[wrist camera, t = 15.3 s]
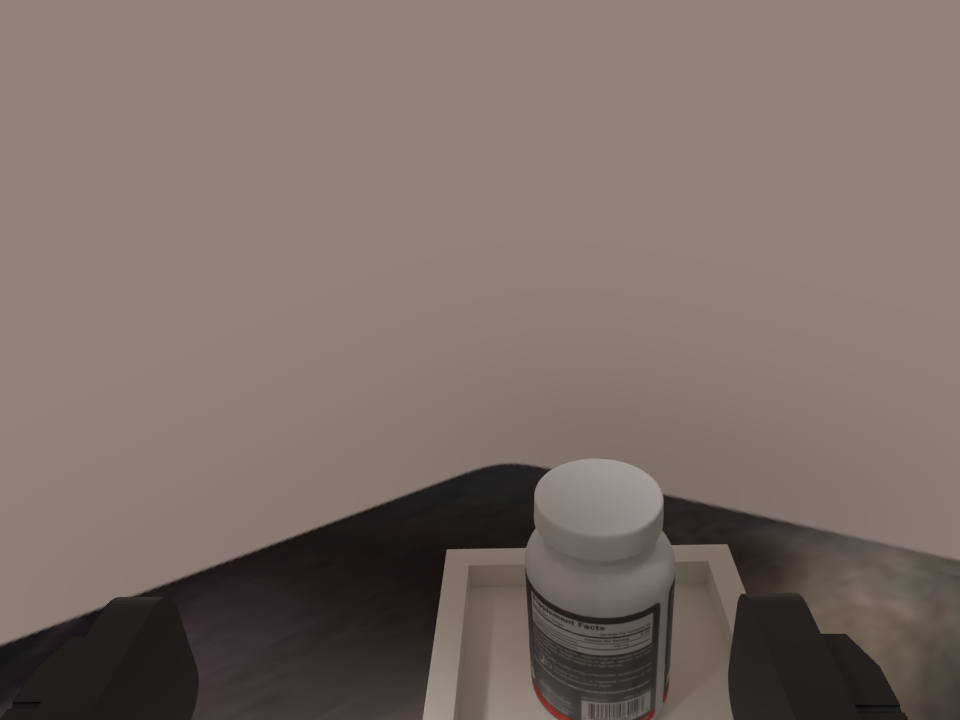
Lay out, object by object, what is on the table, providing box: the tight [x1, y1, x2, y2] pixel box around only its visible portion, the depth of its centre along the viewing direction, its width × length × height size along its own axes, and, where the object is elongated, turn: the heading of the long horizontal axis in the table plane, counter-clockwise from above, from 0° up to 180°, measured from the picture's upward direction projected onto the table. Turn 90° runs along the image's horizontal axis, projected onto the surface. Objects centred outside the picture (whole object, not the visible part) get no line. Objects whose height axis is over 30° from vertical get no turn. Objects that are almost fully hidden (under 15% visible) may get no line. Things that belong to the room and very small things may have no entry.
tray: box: [423, 544, 746, 720], centre depth 31 cm, size 14×14×2 cm
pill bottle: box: [525, 459, 675, 720], centre depth 29 cm, size 6×6×10 cm
